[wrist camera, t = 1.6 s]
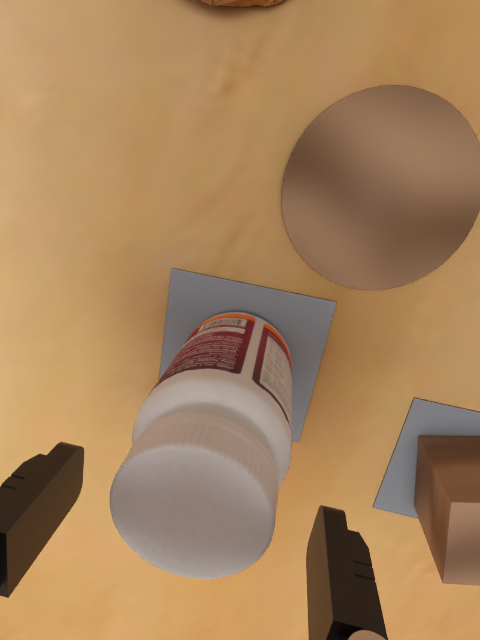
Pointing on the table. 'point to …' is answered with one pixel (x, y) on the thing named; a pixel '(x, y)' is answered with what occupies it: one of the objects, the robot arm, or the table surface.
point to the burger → (241, 2)
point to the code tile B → (402, 466)
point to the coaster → (382, 187)
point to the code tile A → (268, 304)
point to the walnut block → (450, 504)
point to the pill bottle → (210, 452)
